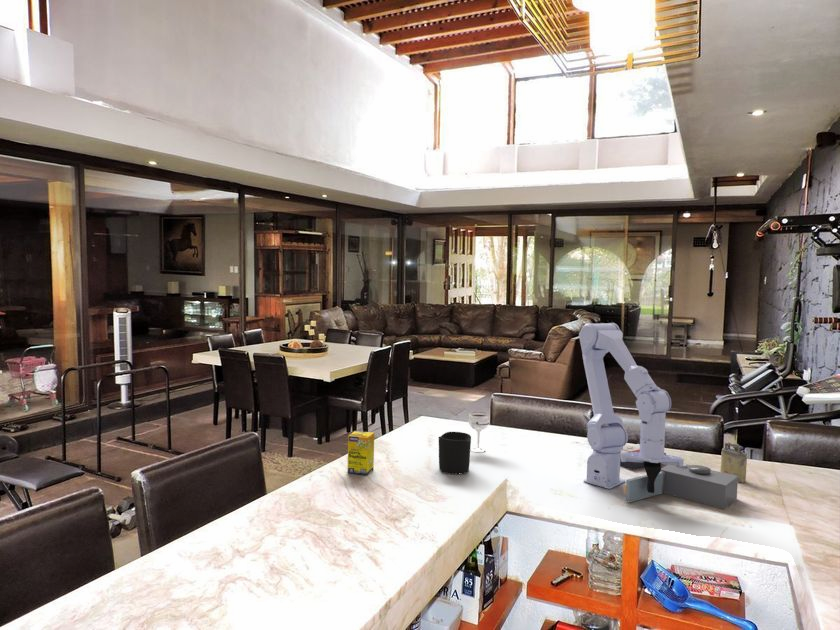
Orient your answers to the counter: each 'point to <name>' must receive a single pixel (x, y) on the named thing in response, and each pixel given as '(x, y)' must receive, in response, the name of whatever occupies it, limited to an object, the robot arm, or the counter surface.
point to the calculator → (632, 464)
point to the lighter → (734, 461)
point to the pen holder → (454, 452)
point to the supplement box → (360, 452)
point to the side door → (643, 487)
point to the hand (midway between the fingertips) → (650, 491)
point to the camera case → (700, 484)
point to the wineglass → (478, 423)
